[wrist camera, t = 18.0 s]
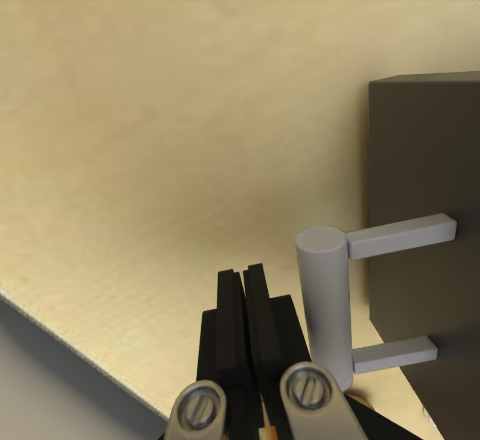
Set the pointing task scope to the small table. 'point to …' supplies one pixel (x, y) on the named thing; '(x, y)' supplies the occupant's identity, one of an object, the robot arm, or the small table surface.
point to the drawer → (410, 251)
